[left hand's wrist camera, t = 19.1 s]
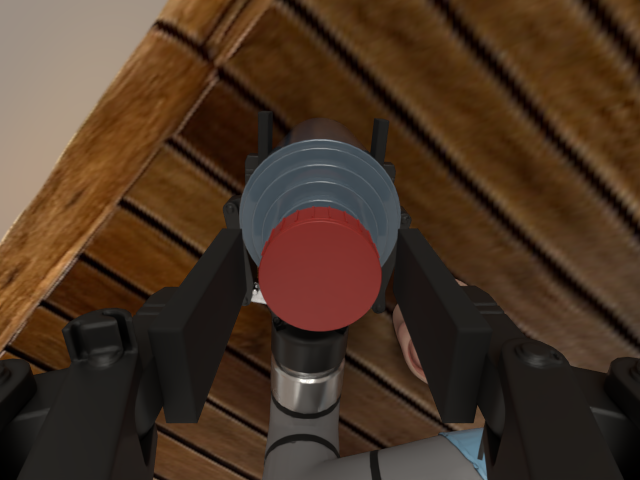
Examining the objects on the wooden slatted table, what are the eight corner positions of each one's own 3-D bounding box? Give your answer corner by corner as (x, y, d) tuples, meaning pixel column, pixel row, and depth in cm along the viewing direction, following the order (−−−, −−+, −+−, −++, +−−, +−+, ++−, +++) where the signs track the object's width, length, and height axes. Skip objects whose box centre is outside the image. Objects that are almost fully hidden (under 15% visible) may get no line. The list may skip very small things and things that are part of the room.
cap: (335, 325, 16) (337, 351, 14) (243, 274, 15) (233, 296, 13) (399, 243, 14) (409, 262, 13) (301, 182, 13) (298, 194, 12)
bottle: (292, 105, 35) (238, 121, 11) (374, 135, 36) (475, 205, 12) (268, 187, 38) (184, 331, 14) (344, 212, 39) (381, 386, 15)
